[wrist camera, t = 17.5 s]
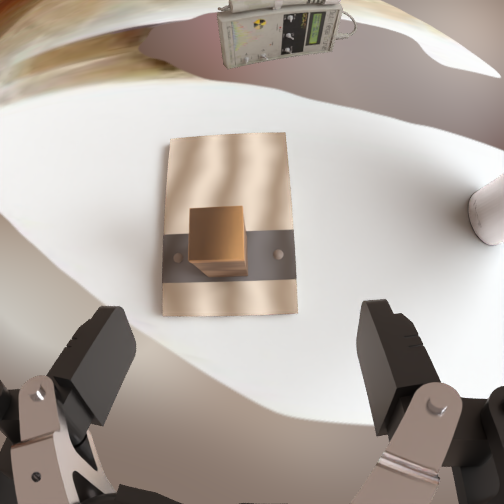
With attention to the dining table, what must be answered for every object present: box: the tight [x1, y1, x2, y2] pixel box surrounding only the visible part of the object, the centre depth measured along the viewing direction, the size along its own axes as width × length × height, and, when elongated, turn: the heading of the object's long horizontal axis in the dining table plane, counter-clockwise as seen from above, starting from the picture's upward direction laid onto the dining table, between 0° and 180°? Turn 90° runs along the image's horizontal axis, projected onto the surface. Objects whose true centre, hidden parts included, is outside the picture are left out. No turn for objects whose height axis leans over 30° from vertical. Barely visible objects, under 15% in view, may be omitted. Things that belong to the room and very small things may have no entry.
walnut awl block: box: [188, 206, 248, 277], centre depth 32 cm, size 5×5×11 cm
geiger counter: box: [217, 0, 357, 69], centre depth 39 cm, size 14×6×25 cm
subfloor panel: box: [162, 132, 298, 316], centre depth 39 cm, size 16×24×2 cm, turn 2°
